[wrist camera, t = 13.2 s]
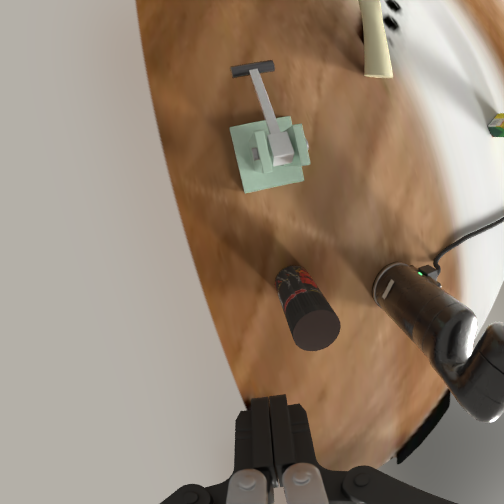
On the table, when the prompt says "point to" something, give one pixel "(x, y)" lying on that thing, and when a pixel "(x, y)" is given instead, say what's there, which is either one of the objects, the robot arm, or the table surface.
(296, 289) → the deodorant
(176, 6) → the table surface
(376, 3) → the flower vase
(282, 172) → the bracket
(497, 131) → the crayon box
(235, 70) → the lever
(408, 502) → the robot arm
